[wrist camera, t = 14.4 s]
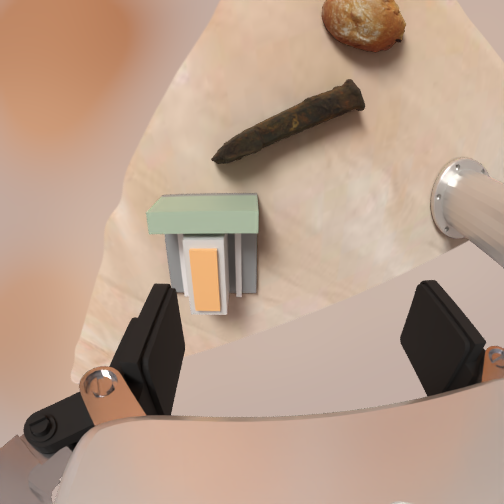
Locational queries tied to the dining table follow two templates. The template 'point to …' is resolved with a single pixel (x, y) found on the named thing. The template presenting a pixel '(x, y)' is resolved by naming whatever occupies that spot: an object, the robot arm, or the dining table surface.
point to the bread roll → (364, 23)
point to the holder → (207, 272)
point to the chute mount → (209, 221)
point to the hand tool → (292, 121)
